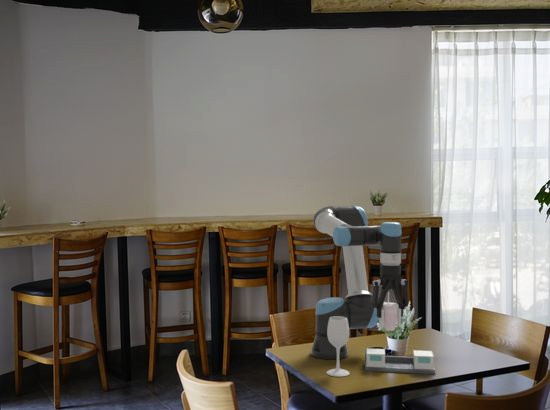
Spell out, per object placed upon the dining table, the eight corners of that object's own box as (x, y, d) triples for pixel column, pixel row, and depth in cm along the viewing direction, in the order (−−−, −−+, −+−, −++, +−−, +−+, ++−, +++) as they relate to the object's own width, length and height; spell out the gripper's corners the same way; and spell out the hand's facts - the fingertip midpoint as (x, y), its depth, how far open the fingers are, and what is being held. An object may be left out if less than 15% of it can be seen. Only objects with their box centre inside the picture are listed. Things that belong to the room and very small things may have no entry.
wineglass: (353, 375, 236) (353, 319, 235) (331, 377, 233) (331, 320, 233) (344, 369, 244) (344, 315, 243) (323, 371, 241) (323, 316, 241)
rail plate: (365, 370, 242) (365, 361, 242) (365, 363, 252) (365, 354, 252) (435, 374, 238) (435, 364, 238) (432, 366, 248) (432, 357, 248)
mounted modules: (366, 366, 242) (366, 353, 242) (366, 360, 250) (366, 348, 250) (433, 369, 238) (433, 356, 238) (431, 363, 246) (431, 351, 246)
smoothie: (383, 327, 240) (383, 290, 239) (400, 328, 237) (400, 291, 237) (379, 330, 234) (379, 293, 233) (396, 332, 231) (396, 294, 231)
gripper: (370, 266, 228) (369, 329, 229) (418, 264, 233) (418, 326, 234) (362, 263, 236) (361, 325, 237) (409, 262, 241) (408, 322, 242)
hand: (389, 325), depth 235 cm, fingers closed on smoothie, 6 cm apart
